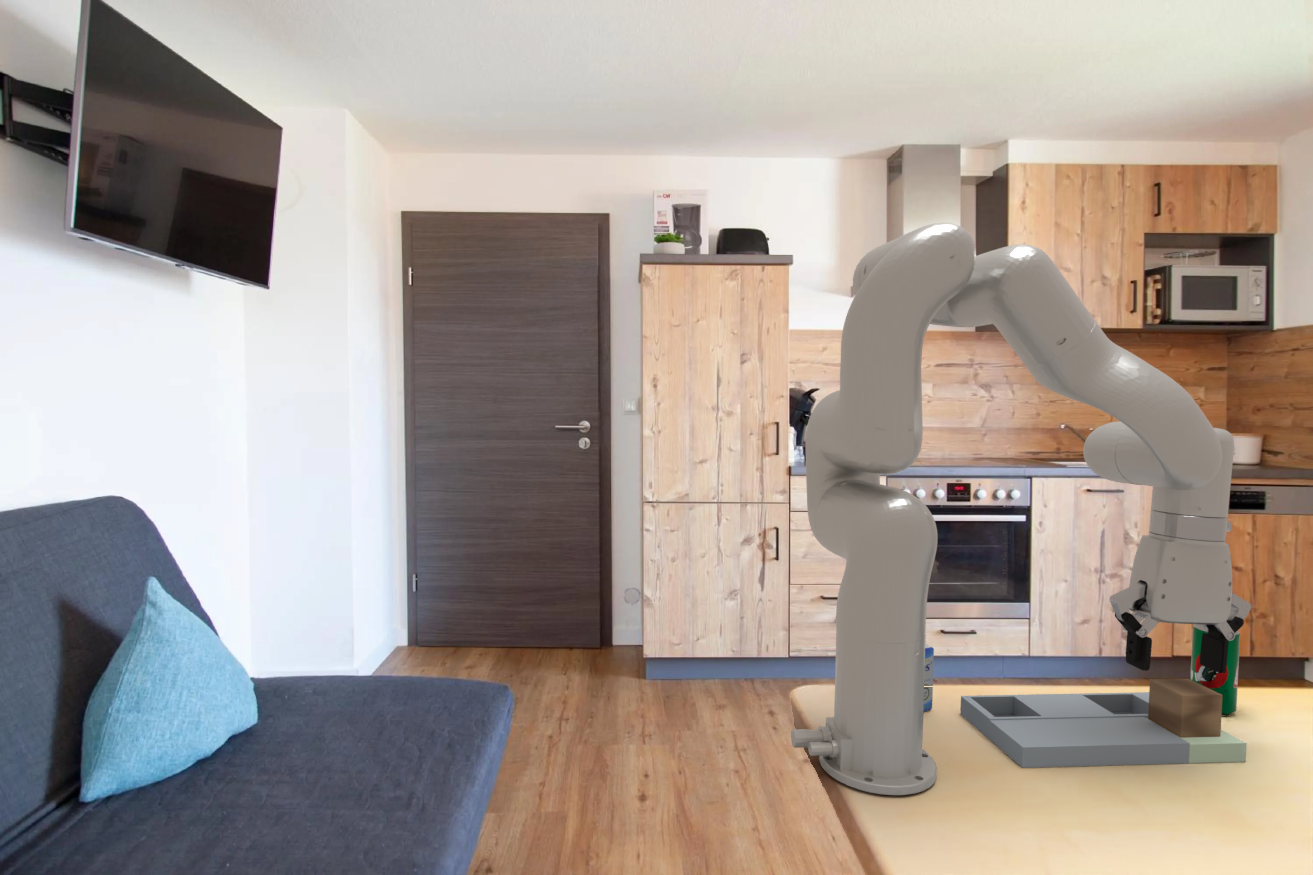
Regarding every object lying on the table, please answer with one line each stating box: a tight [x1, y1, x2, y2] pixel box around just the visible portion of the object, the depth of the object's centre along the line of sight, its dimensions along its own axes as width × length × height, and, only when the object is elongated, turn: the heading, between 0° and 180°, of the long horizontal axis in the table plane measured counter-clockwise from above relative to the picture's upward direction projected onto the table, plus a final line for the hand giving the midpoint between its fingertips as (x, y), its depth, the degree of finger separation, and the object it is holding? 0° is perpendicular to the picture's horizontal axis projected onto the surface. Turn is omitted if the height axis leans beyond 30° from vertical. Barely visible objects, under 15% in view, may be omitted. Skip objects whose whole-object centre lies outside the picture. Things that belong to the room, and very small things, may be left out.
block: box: [1148, 678, 1222, 738], centre depth 87 cm, size 5×5×5 cm
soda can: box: [1190, 624, 1241, 716], centre depth 98 cm, size 5×5×12 cm
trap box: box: [960, 691, 1248, 769], centre depth 89 cm, size 27×14×2 cm, turn 94°
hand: (1174, 667), depth 88 cm, fingers open, 9 cm apart
